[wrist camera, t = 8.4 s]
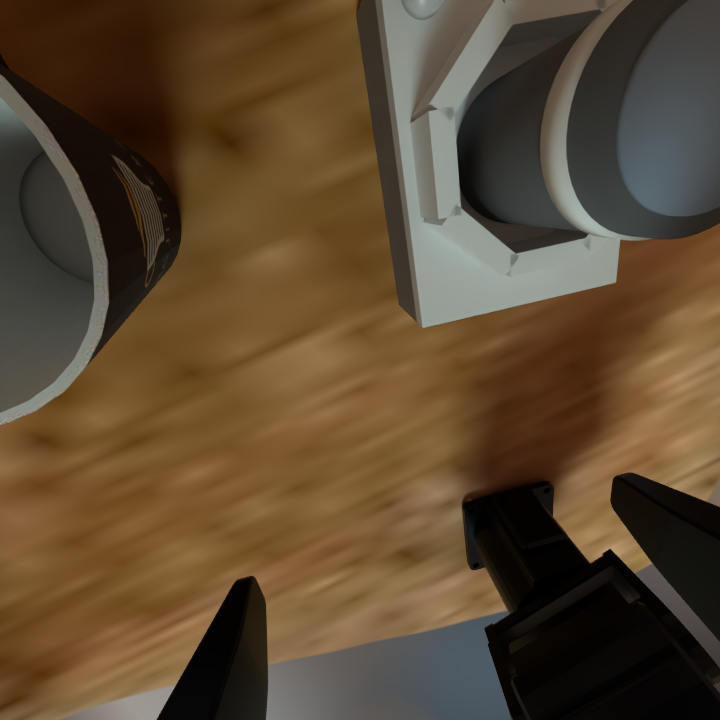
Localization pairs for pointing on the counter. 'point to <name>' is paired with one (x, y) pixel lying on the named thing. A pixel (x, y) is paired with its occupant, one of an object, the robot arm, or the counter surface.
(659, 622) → the robot arm
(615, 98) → the lens
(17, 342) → the coffee mug
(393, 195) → the octagonal ring tray
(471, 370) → the counter surface
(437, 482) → the counter surface
